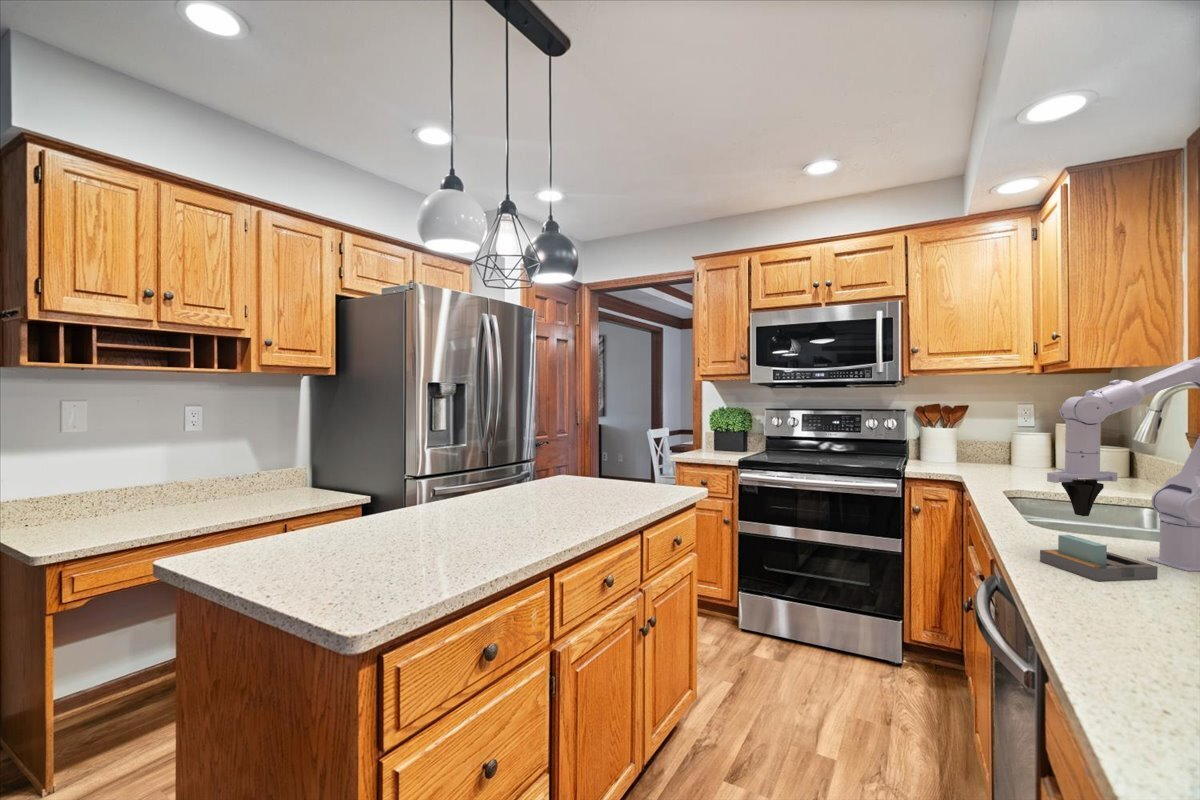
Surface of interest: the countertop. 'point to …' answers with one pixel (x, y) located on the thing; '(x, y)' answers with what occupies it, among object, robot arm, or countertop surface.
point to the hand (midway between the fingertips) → (1081, 515)
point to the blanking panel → (1083, 549)
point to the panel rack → (1101, 567)
